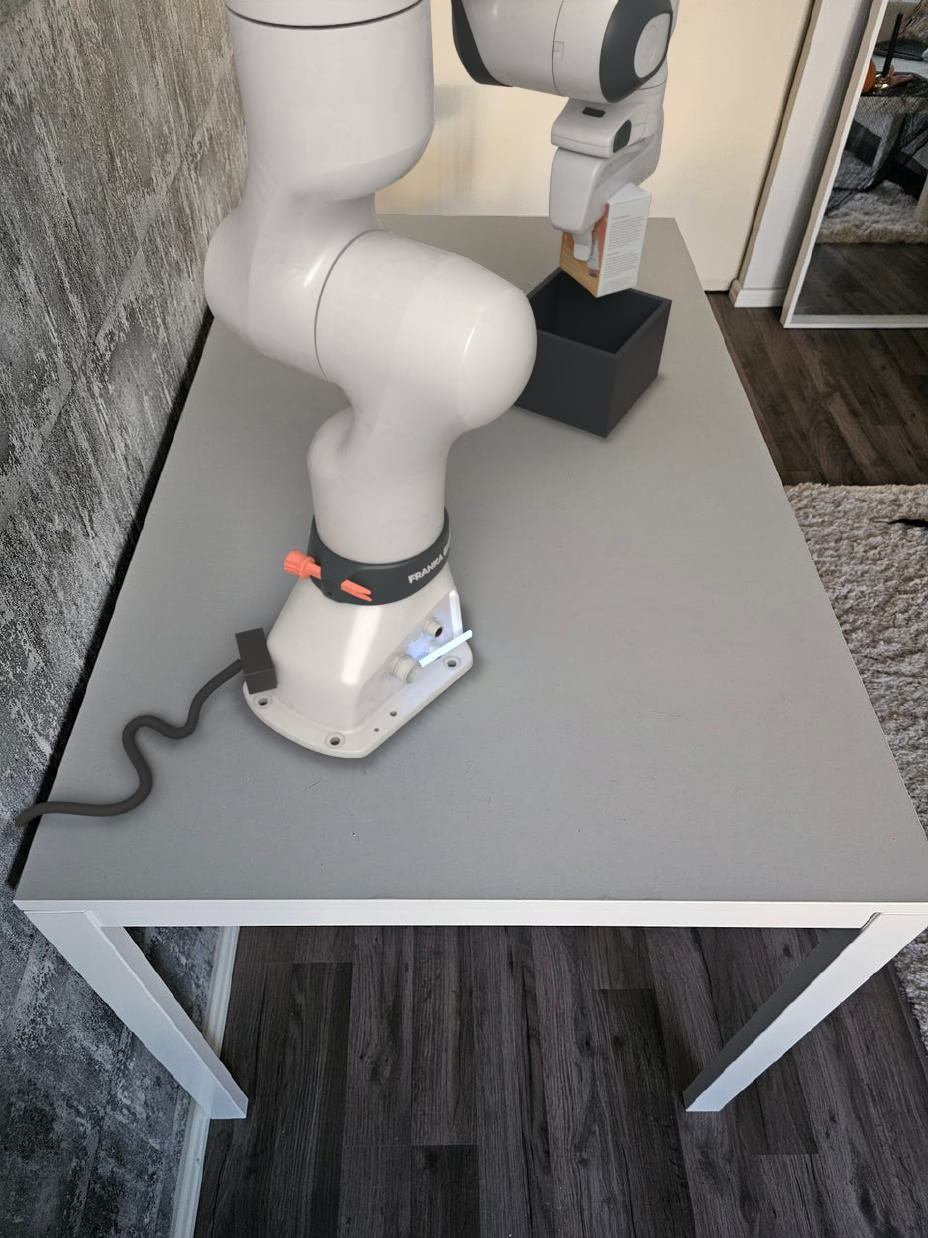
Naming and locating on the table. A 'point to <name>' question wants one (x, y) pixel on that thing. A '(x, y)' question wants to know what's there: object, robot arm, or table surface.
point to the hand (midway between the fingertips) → (600, 241)
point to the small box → (612, 244)
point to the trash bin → (592, 352)
